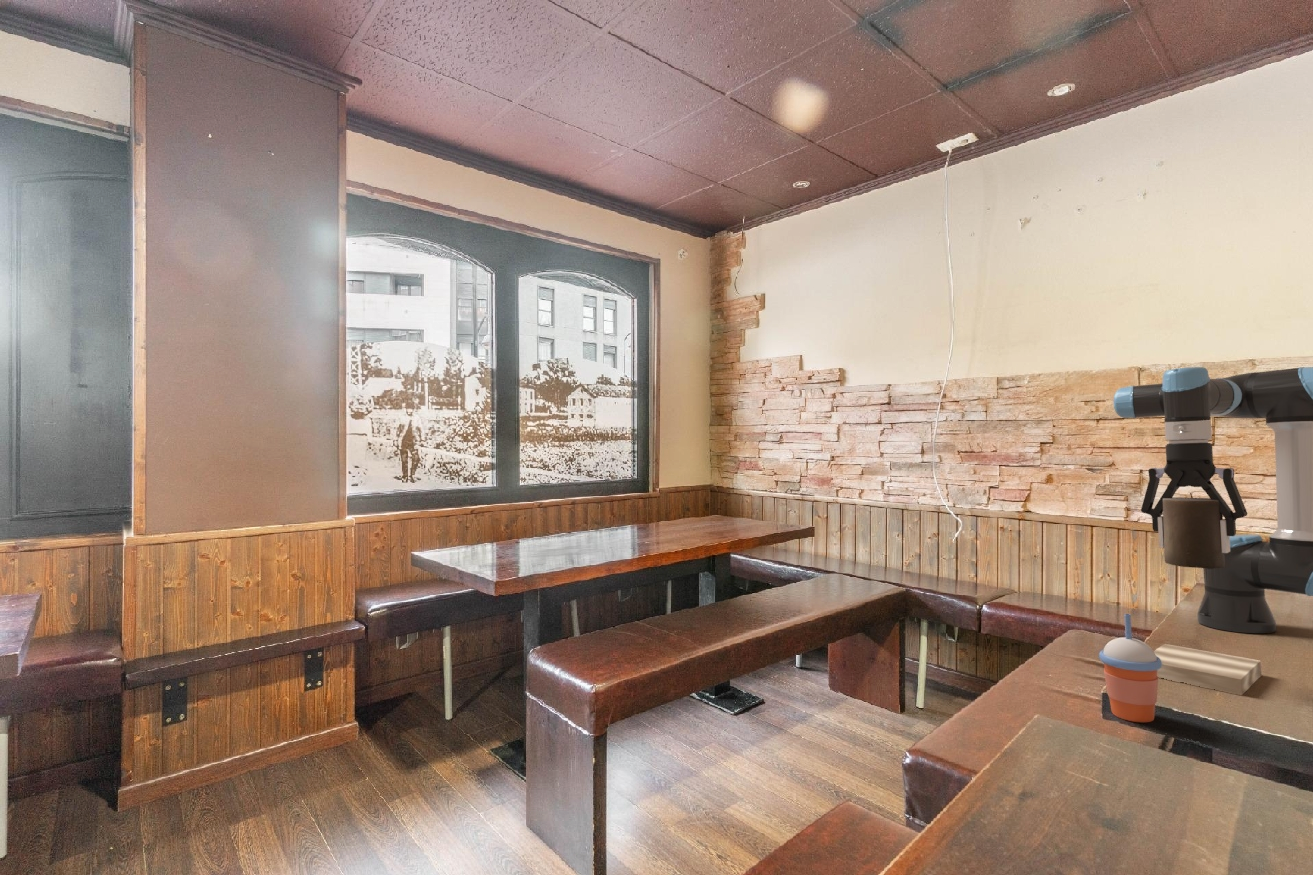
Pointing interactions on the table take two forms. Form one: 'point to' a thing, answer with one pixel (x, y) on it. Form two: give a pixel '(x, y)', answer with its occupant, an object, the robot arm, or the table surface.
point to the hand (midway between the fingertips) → (1193, 549)
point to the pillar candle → (1192, 532)
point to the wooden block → (1207, 669)
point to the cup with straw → (1131, 676)
